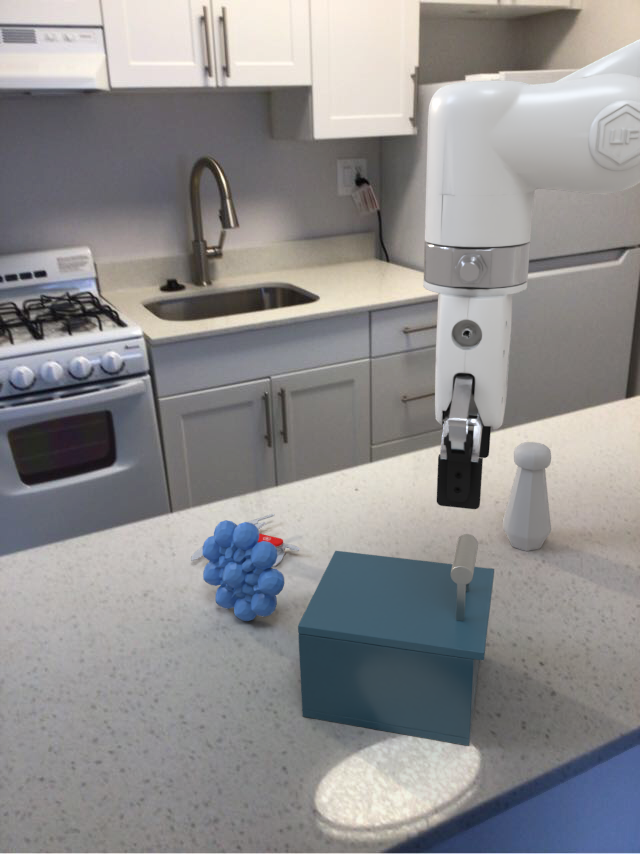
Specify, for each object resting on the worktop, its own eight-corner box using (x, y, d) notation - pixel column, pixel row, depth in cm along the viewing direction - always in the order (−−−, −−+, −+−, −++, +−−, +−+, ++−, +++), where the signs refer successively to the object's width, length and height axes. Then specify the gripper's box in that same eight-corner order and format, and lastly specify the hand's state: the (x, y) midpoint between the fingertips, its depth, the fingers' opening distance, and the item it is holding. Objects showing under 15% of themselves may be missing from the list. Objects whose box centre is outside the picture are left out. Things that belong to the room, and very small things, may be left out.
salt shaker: (491, 541, 94) (497, 445, 89) (519, 526, 98) (526, 432, 93) (531, 559, 90) (539, 459, 85) (559, 543, 93) (568, 446, 89)
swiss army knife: (324, 534, 97) (323, 520, 97) (269, 589, 86) (268, 574, 85) (248, 517, 102) (247, 504, 102) (187, 566, 91) (186, 552, 90)
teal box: (480, 652, 74) (485, 575, 71) (469, 746, 63) (473, 660, 60) (337, 631, 78) (335, 557, 75) (302, 716, 67) (298, 634, 64)
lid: (493, 575, 71) (497, 517, 69) (483, 661, 60) (487, 594, 58) (335, 557, 75) (333, 501, 73) (298, 633, 64) (294, 570, 62)
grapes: (313, 620, 80) (309, 520, 76) (268, 652, 75) (261, 547, 71) (237, 582, 87) (230, 489, 83) (192, 609, 83) (181, 511, 78)
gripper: (525, 291, 47) (506, 535, 53) (531, 250, 62) (516, 443, 68) (404, 287, 48) (400, 523, 55) (439, 248, 64) (432, 436, 70)
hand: (464, 478), depth 61 cm, fingers open, 9 cm apart
